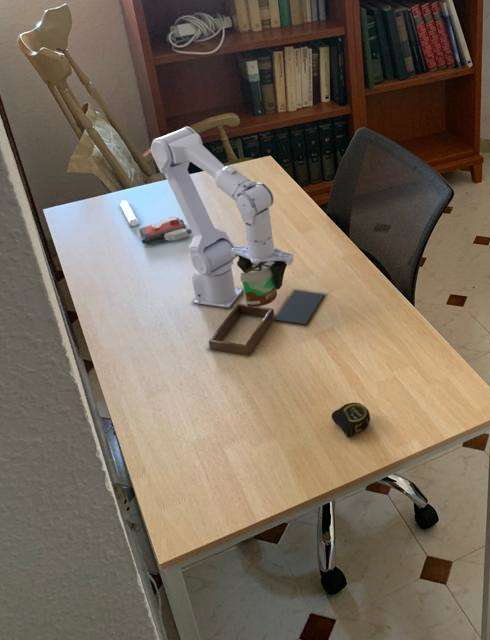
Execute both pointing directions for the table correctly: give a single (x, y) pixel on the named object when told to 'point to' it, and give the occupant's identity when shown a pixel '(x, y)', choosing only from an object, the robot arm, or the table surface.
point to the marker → (129, 213)
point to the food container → (259, 284)
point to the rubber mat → (299, 307)
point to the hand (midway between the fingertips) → (266, 285)
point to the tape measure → (352, 418)
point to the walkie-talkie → (164, 231)
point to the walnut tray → (239, 309)
